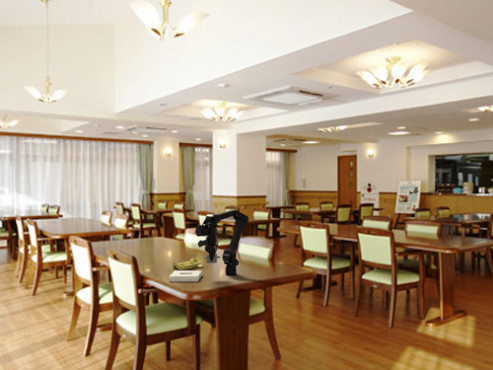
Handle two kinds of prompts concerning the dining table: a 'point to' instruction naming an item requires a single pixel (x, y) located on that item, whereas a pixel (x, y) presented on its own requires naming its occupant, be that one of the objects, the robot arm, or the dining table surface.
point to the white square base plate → (185, 276)
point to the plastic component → (188, 263)
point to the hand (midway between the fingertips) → (211, 260)
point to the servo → (213, 258)
